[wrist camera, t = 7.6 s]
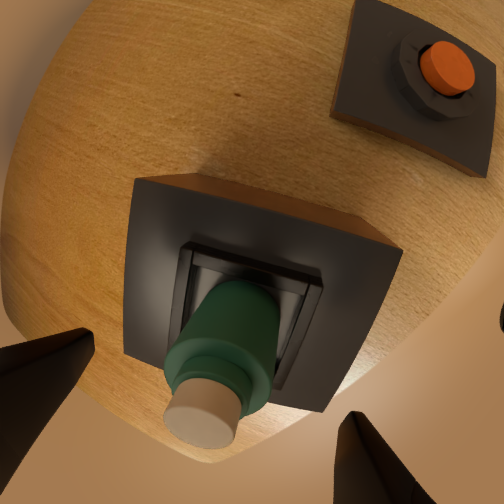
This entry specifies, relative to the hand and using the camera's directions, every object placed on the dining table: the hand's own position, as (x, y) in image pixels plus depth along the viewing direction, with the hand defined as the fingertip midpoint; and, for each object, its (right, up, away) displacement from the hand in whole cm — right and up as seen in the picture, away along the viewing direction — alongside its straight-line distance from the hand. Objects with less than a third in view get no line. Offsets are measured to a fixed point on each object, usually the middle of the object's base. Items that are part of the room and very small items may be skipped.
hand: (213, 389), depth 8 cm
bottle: (+1, +1, +5) cm, 5 cm away
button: (+13, +15, +3) cm, 20 cm away
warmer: (+2, +4, +12) cm, 13 cm away
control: (+13, +16, +7) cm, 22 cm away
